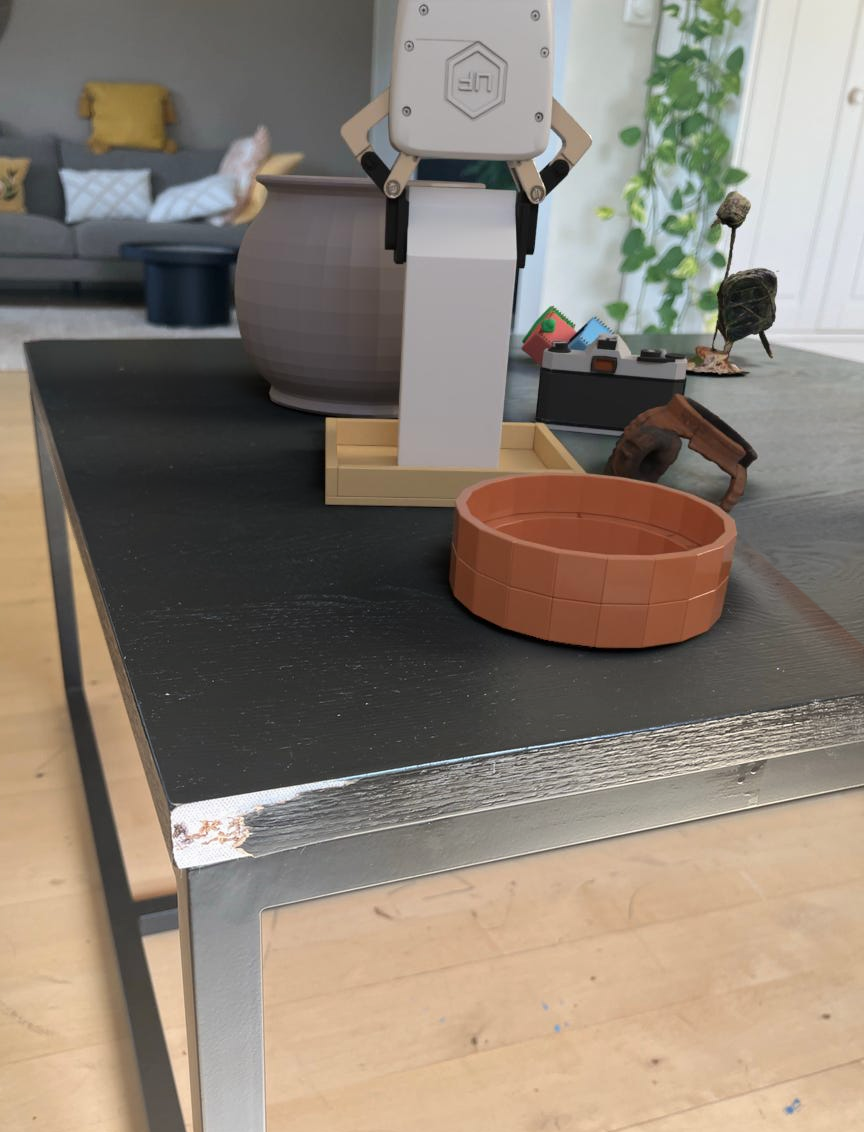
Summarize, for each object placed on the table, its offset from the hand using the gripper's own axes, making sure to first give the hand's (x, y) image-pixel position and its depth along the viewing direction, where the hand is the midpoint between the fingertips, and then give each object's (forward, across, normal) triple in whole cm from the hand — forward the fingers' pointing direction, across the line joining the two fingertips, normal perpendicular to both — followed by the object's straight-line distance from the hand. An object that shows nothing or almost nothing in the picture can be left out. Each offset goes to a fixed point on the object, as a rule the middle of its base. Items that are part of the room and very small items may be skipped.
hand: (458, 262), depth 67 cm
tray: (+15, 0, 0) cm, 15 cm away
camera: (+15, +17, +18) cm, 29 cm away
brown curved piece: (+15, +15, -5) cm, 22 cm away
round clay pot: (+15, -5, +27) cm, 31 cm away
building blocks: (+15, +20, +48) cm, 54 cm away
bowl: (+15, +5, -23) cm, 28 cm away
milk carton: (+15, 0, 0) cm, 15 cm away
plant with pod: (+15, +39, +48) cm, 64 cm away
